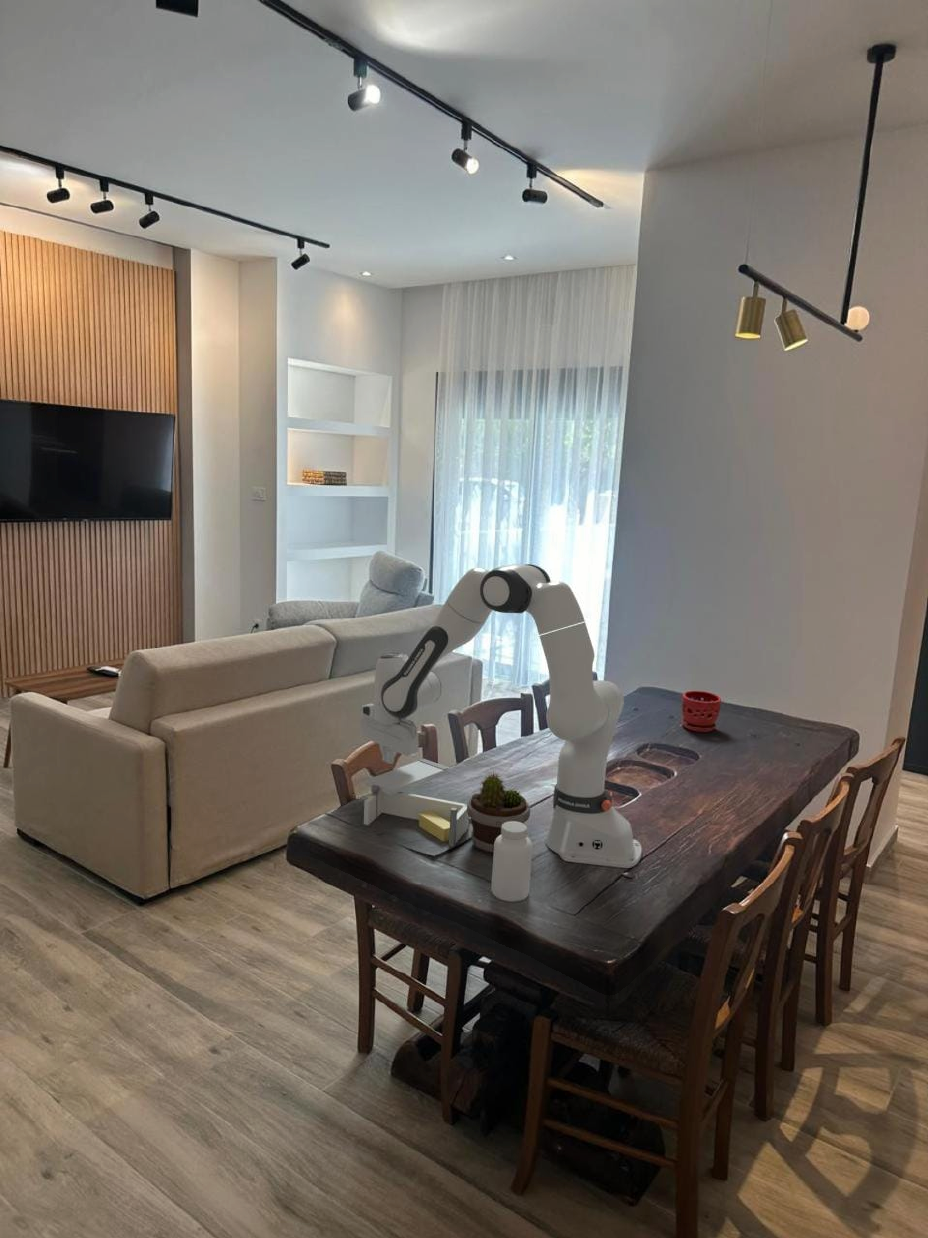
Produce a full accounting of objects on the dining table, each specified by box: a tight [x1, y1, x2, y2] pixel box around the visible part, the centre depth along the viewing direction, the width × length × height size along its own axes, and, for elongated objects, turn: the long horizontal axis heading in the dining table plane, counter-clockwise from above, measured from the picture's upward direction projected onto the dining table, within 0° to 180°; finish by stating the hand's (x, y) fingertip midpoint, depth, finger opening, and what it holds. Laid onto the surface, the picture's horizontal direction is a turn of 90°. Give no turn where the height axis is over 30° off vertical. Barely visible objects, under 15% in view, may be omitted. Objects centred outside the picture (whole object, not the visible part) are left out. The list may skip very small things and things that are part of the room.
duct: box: [363, 791, 471, 847], centre depth 201 cm, size 24×11×9 cm, turn 71°
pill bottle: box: [490, 821, 533, 903], centre depth 172 cm, size 8×8×15 cm
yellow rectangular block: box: [418, 811, 450, 842], centre depth 200 cm, size 10×3×3 cm, turn 39°
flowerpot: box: [466, 770, 531, 856], centre depth 192 cm, size 14×15×20 cm
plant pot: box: [681, 690, 722, 733], centre depth 289 cm, size 13×13×12 cm
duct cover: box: [364, 758, 450, 795], centre depth 213 cm, size 24×9×1 cm, turn 141°
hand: (388, 762), depth 223 cm, fingers closed
